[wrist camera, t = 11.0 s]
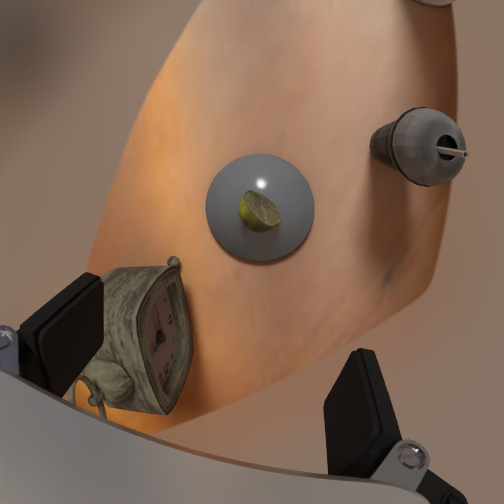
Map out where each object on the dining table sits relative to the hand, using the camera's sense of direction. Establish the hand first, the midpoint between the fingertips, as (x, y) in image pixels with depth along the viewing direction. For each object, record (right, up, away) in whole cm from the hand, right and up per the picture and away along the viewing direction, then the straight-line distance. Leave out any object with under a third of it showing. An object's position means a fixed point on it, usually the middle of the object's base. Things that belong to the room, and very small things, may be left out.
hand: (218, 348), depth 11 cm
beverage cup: (+18, +16, +24) cm, 34 cm away
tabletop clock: (-11, -3, +33) cm, 35 cm away
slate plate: (+2, +9, +28) cm, 29 cm away
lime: (+2, +9, +27) cm, 29 cm away
